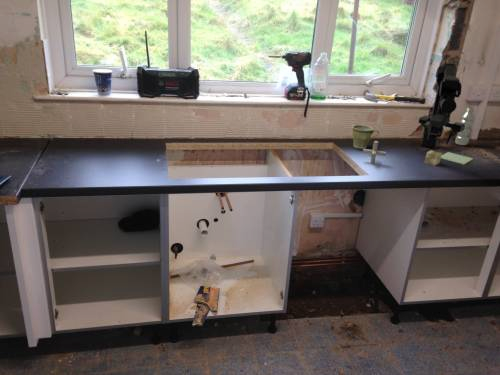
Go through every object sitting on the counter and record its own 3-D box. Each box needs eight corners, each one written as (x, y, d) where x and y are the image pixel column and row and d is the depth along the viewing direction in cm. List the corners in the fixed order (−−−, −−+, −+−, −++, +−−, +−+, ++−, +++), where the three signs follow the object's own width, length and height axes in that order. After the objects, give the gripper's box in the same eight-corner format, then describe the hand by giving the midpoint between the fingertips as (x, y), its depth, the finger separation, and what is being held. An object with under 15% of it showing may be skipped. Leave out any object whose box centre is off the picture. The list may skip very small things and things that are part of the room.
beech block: (424, 162, 198) (426, 152, 196) (428, 160, 201) (431, 150, 199) (434, 165, 194) (437, 155, 192) (439, 163, 198) (441, 153, 196)
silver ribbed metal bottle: (469, 147, 223) (479, 109, 215) (455, 145, 224) (465, 108, 216) (466, 143, 229) (475, 107, 221) (452, 142, 230) (462, 105, 222)
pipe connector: (384, 160, 197) (388, 140, 193) (383, 167, 188) (387, 146, 184) (362, 157, 199) (365, 137, 195) (360, 164, 191) (363, 143, 187)
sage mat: (438, 157, 205) (438, 156, 205) (448, 152, 213) (448, 152, 213) (464, 164, 197) (464, 163, 197) (473, 159, 205) (473, 158, 205)
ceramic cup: (349, 148, 211) (352, 129, 207) (350, 142, 220) (352, 124, 216) (376, 151, 209) (379, 132, 205) (375, 145, 217) (379, 126, 213)
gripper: (416, 106, 188) (409, 140, 194) (459, 115, 176) (450, 150, 182) (427, 103, 195) (420, 135, 201) (469, 111, 183) (460, 145, 190)
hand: (436, 141), depth 194 cm, fingers open, 9 cm apart
